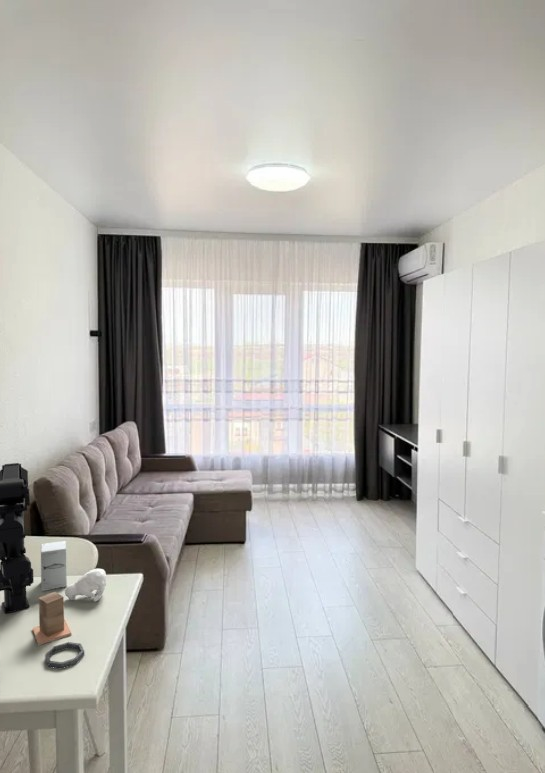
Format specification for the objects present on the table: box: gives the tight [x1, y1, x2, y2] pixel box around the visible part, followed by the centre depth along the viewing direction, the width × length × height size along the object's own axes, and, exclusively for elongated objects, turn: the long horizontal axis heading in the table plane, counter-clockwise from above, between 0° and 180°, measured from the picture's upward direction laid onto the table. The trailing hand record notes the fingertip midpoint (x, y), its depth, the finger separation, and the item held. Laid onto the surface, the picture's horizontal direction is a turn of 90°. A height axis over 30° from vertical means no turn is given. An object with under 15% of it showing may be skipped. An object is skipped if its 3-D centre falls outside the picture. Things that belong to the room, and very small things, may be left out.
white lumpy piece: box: [64, 568, 107, 602], centre depth 149 cm, size 6×8×12 cm
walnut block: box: [38, 591, 65, 637], centre depth 131 cm, size 4×4×9 cm
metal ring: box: [44, 641, 85, 669], centre depth 121 cm, size 8×8×1 cm
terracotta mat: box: [32, 618, 72, 646], centre depth 131 cm, size 8×8×1 cm
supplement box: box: [40, 540, 68, 592], centre depth 157 cm, size 7×7×13 cm
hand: (13, 587), depth 131 cm, fingers open, 9 cm apart
